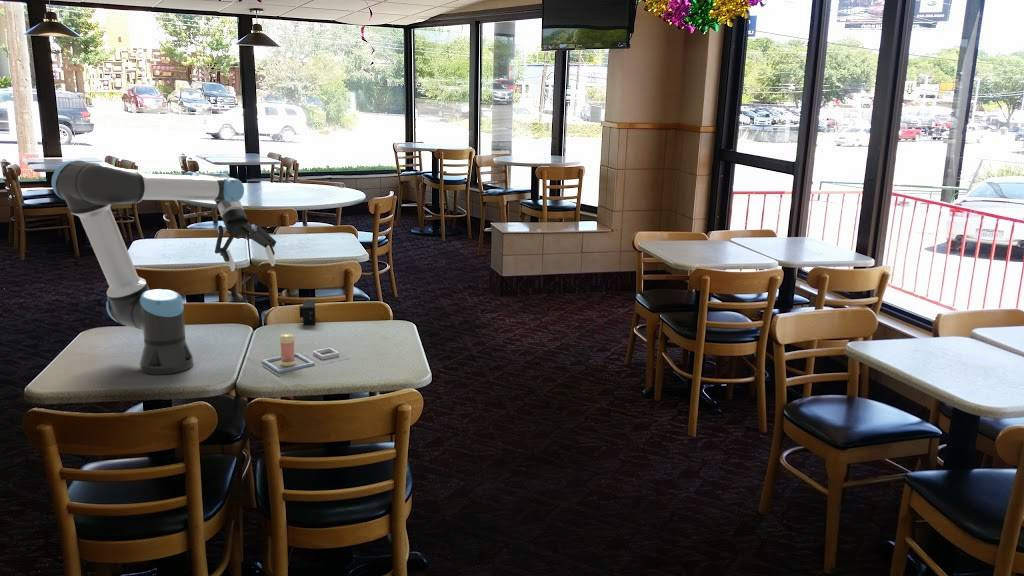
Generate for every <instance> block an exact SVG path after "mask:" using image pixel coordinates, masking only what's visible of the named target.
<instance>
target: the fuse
mask: <svg viewBox="0 0 1024 576" xmlns="http://www.w3.org/2000/svg"><path fill="white" fill-rule="evenodd" d="M279 342H280V356H281V359H280V364H281V366H283V367H292V366H295V364H296V358H295V357H296V356H295V354H294V353H295V334H293V333H282V334H280V335H279Z"/></svg>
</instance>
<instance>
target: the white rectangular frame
mask: <svg viewBox="0 0 1024 576" xmlns="http://www.w3.org/2000/svg"><path fill="white" fill-rule="evenodd" d="M301 353H302V354H304V355H305V356H306V357H308V358H310V359H311V360H314V361H316V362H318V364H320V365H327V364H331V363H336V362H340V361H344V360H345V361H346V360H349V359H351V357H350V356H348V355H345V353H342V352H340V351H338V350H337V349H335V348H332V347H331V346H326V347H322V348H317V349H313V350H308V351H304V352H301Z"/></svg>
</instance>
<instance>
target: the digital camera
mask: <svg viewBox="0 0 1024 576" xmlns="http://www.w3.org/2000/svg"><path fill="white" fill-rule="evenodd" d="M299 318H300V319H302V321H303V324H302V325H303V326H316V299H303V300H302V305H299Z"/></svg>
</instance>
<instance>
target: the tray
mask: <svg viewBox="0 0 1024 576" xmlns="http://www.w3.org/2000/svg"><path fill="white" fill-rule="evenodd" d="M294 354H295V357H297V358H298V359H300V360H302V361H304V362H306V363H303V364H299V365H292V366H287V367H284V368H278V367H277V366H275V365H274V364H272V363H270V362H274V361H279V360H280V361H281V355H279V356H274V357H271V358H265V359H262V360H261V363H262V364H264V365H266V366H267V367H269V368H270V369H271V370H270V369H269V368H267V367H266V366H264V365H262V367H263V369H265V370H267V371H268V372H269V373H271V374H273V375H274V376H275V377H278V378H280V376H279V375H278V374H280V373H284V372H285V373H286V372H290V371H294V370H297V369H302V368H307V367H312V366H315V362H314V361H312V359H311V360H310V359H309V358H307V357H305V356H304V355H302V354H300V353H299V352H294ZM272 370H274V371H275V372H277V373H278V374H276V373H275V372H273V371H272Z"/></svg>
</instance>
